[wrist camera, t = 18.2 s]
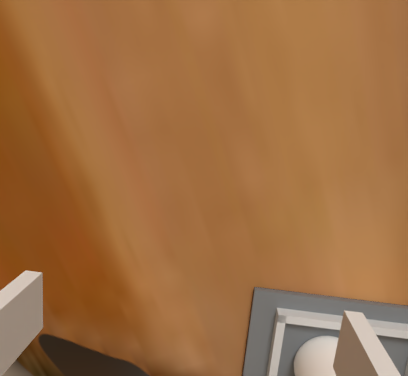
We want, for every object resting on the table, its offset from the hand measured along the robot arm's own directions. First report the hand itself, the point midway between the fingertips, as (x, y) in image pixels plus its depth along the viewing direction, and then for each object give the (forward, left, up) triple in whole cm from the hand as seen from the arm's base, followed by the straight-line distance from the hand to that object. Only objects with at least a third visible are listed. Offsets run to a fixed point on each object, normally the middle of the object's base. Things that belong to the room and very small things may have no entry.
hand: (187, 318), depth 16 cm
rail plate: (-18, +22, -29) cm, 40 cm away
